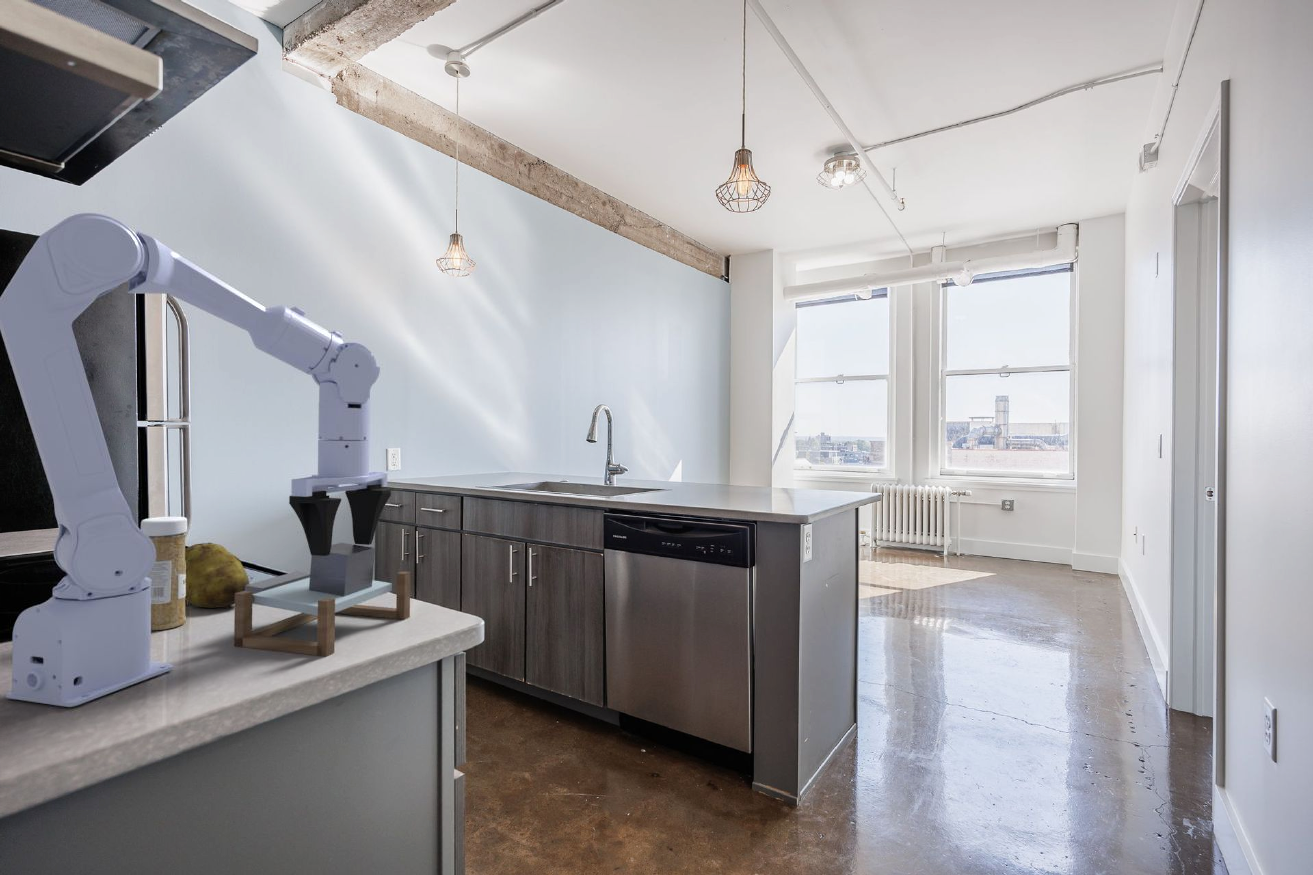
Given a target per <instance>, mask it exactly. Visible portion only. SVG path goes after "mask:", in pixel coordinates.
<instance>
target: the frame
mask: <svg viewBox="0 0 1313 875" xmlns="http://www.w3.org/2000/svg"><path fill="white" fill-rule="evenodd" d="M252 595H253V592H251V591H242V592H238V593H235V604H234V625H233V626H234V628H233V629H234V632H233V634H234V635H233V638H234V639H233V645H234V646H233V647H241V648H248V649H249V648H250V649H258V650H268V651H276V652H286V653H292V654H293V653H294V654H302V655H304V654H305V655H310V656H311V655H313V656H320V657H323V656H324V657H328V656H331V655H332V654H334V653H335V642H336V641H335V635H336V634H335V633H336V630H335V629H336V628H335V626H336V625H335V624H336V614H340V615H341V614H342V615H351V616H361V615H364V616H363V617H371V616H372V618H373V617H374V618H382V617H385V618H384V619H395V620H406V618H407V619H409V618H410V617H411V616H410V615H411V611H410V610H411V571H400V572H396V603H395V604H396V606H395V607H387V606H377V605H374V606H373V605H363V604H362V605H361V604H357V605H354V606H351V607H349V608H346V609H344V610H341V611H338V612H336V613H335V599H331V598H325V599H322V600H319V601H318V616H317V615H312V614H306V613H301V612H299V613H298V614H295V615H293V616H292V615H291V616H289V617H287V618H284V619H282V620H278V621H276V622H273V623H270V624H267V625H264V626H261V627H260V628H257V629H253V604H252ZM408 617H409V618H408ZM315 620H317V630H316V631H317V633H316V634H317V635H316V638H317V641H313V640H312V641H311V640H304V639H294V638H284V637H274V636H275V635H278V634H280V633H283V632H286V631H289V630H291V629H293V628H296V627H298V626H302V625H304V624H306V623H309V622H312V621H315Z"/></svg>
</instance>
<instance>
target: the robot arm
mask: <svg viewBox="0 0 1313 875" xmlns="http://www.w3.org/2000/svg"><path fill="white" fill-rule="evenodd" d="M123 283H128V288H127V293H128V294H149V295H151V294H153V295H154V294H163V295H164V294H165V295H169V296H172V297H174V298H176V299H178V300H180V301H183V302H185V303H186V304H189V305H192V306H193V307H195V308H197V309H200V310H202V311H204V312H207V313H208V314H210V315H212V316H215V317H216V318H219V319H221V320H223V321H225V322H227V323H229V324H231V325H233V326H236V327H237V328H240V329H242V330H244V331H246V332H248V334H249V336H250V338H251V341H252V343H253V345H254V347H255V349H258V350H259V351H261V352H264V353H266V354H267V355H269V356H271V357H274V358H275V359H277V360H279V361H281V362H283V363H285V364H288V366H291V367H293V368H295V369H297V370H298V371H301V372H303V373H305V374H307V375H311V377H312V379H313V381H314V382H315V384H316V385H317V386H318V388H319V390H318V394H319V395H318V427H317V428H318V436H317V438H318V440H317V474H312V475H311V476H308V477H307V476H305V477H301V478H292V479H291V489H290V490H291V492H290V493H291V495H289V497H288V498H289V499H288V500H289V501H288V503H289V505H290V507H291V508H292V510H293V511H294V513H295V514H296V516H297V518H298V520H299V521H300V523H301V526H302V528H303V531H304V532H303V533H304V534H305V538H306V540H307V541H306V542H307V545H308V549H309V552H310V556H312V555H317V556H327V555H329V554H330V550H331V545H333V532H334V531H333V529H334V525H335V524H334V523H335V520H336V515H337V512H338V510H339V507H340V504H341V502H342V498H340V497H330V495H327V494H330V493H331V494H332V493H338V492H345V497H346V499H347V502H348V505H349V508H350V512H351V520H352V536H353V541H354V545H362V546H365V545H367V546H369V545H372V543H373V540H374V538H375V537H374V536H375V532H376V529H377V526H378V524H379V523H378V522H379V519H380V516H381V514H382V512H383V509H384V508H385V506H386V504H387V502H388V501H389V500H390V498H391V497H392V488H386V487H388V472H385V471H370V432H371V430H370V427H371V422H370V419H371V417H370V415H371V414H370V413H371V404H370V403H371V397H370V396H371V388H372V387H373V385H374V384H375V383H376V381H377V380H378V378H379V377H380V376H379V375H380V373H381V372H380V371H381V367H380V366H378V365H377V361H376V358H375V356H374V355H373V354H372V351H371V350H369V348H367V347H366V346H365V345H363V344H360V343H357V342H344V341H343V334H342V333H341V332H338V331H337V330H333V331H329V330H327V329H326V328H325V327H322V326H321V325H320V324H317V323H315V322H313V321H312V320H310V319H308V318H306V317H305V315H306V311H304V310H303V309H301V308H300V307H297V306H293V307H290V308H289V307H288V306H286V305H283V304H281V305H275V306H270V307H266V306H263V305H262V304H260V302H257V301H255V300H253V299H252V298H251V297H249V296H247V295H246V294H244V293H243V292H241V291H239V290H238V289H236V288H234V287H233V286H231V285H229V284H228V283H226V282H224V281H223V280H221V279H220V278H218V277H216V276H215V275H213V274H211V273H209V272H208V271H206V270H204V269H203V268H201V267H200V266H198V265H197V264H194V263H193V262H192V261H190V260H188V259H186V258H185V257H183V256H181V255H180V254H179V253H177V252H176V251H174V250H172V249H171V248H169V247H168V246H166V245H165V244H164V243H163V242H161V241H159V240H157V239H156V238H154V237H153V236H151V235H148V234H146V233H143V232H141V231H136V232H134V231H133V230H132V229H131V228H130V227H129V226H127V225H126V223H124V222H121V221H120V220H118V219H116V218H114V217H112V216H108V215H105V214H102V213H96V212H83V213H77V214H73V215H70V216H69V217H66V218H65V219H63V220H62V221H61V222H58V223H57V224H56V225H54V226H53V227H51V228H49V229H48V230H47V231H45V232H44V233H43V234H41V235H40V236H39V237H38V238H37V239H36V241H35V243H34V244H33V246H32V247H31V249H30V250H29V252H28V253H27V255H26V256H25V257H24V259H23V261H21V263H20V265H19V267H18V269H17V270H16V272H15V273H14V275H13V277H12V278H11V279H10V282H9V283H8V284H7V286H6V288H5V289H4V291H3V292H2V294H1V296H0V334H1V337H2V340H3V342H4V346H5V350H6V353H7V355H8V359H9V362H10V365H11V367H12V371H13V374H14V378H15V381H16V384H17V387H18V390H19V393H20V397H21V400H22V403H23V406H24V409H25V412H26V415H27V416H26V417H27V418H28V423H29V425H30V429H31V432H32V434H33V438H34V441H35V445H36V447H37V450H38V454H39V456H40V457H39V458H40V459H41V464H42V466H43V470H44V473H45V476H46V479H47V483H48V485H49V489H50V493H51V495H52V499H53V504H54V505H53V506H54V515H55V518H56V521H57V526H58V534H57V537H56V541H55V543H54V546H53V557H54V561H55V562H56V564H57V566H58V567H59V568H60V569H61V570H62V571H63V572H65V574H66V575H65V576H64V577H63V578H61V580H60V581H59V582H58V583H57V585H56V586H54V587H53V588H52V596H51V597H50V598H49V599H48V600H46V601H45V602H42V603H40V604H37V605H33V606H31V607H28V608H26V609H24V610H23V611H22V612H21V613H20V614H19V615H18V617H17V619H16V621H15V623H14V626H13V630H12V653H11V654H12V658H11V660H12V664H11V665H12V666H11V667H12V668H11V669H12V670H11V671H12V672H11V673H12V674H11V675H12V676H11V677H12V679H11V680H12V681H11V690H10V691H7V692H6V693H5V698H6V699H11V700H19V701H26V702H31V703H40V704H46V705H50V706H51V705H53V706H58V707H67V708H72V707H76V706H79V705H82V704H85V703H88V702H90V701H93V700H95V699H98V698H100V697H103V696H106V695H108V694H111V693H113V692H116V691H119V690H121V689H124V688H128V687H130V686H132V685H134V684H137V683H140V682H143V681H146V680H148V679H150V678H154V677H156V676H160V675H162V674H164V673H166V672H167V673H168V672H169V671H172V670H173V669H174V664H172V663H164V662H156V661H151V648H152V647H151V644H152V642H151V641H152V640H151V639H152V638H151V637H152V635H151V634H152V633H151V632H152V631H151V579H150V578H147V575H148V574H149V573H150V571H151V570H152V568H153V566H154V563H155V559H156V550H155V546H154V544H153V542H152V540H151V539H150V538H149V536H147V535H146V534H145V533H144V532H143V531H141V528H140V527H138V525H137V524H136V522H135V520H134V517H133V514H132V510H131V508H130V506H129V503H128V501H127V500H126V499H125V496H124V495H123V493H122V491H121V489H120V485H119V482H118V479H117V476H116V475H117V474H116V472H115V469H114V465H113V463H112V459H111V456H110V451H109V449H108V445H107V442H106V439H105V435H104V431H103V428H102V425H101V422H100V418H99V415H98V412H97V407H96V405H95V401H94V398H93V394H92V391H91V388H90V385H89V381H88V378H87V374H86V371H85V370H86V369H85V367H84V364H83V361H82V356H81V354H80V351H79V347H78V342H77V340H76V337H75V334H74V329H73V322H74V321H75V320H76V319H77V318H78V317H79V316H80V315H81V314H82V313H83V312H84V311H86V309H88V307H90V305H91V304H92V303H94V301H95V300H96V299H99V298H100V297H102V296H104V295H106V294H108V293H109V294H110V292H112V291H114V290H115V289H116V288H118V287H120V285H121V284H122V285H123ZM340 485H344V486H340ZM345 485H346V486H345Z"/></svg>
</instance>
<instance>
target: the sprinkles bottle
mask: <svg viewBox="0 0 1313 875" xmlns="http://www.w3.org/2000/svg"><path fill="white" fill-rule="evenodd" d="M140 530H141V531H143V532H144V533H145V534H146V535H147V536H149V538H150V539H151V540H152V542H153V544H154V546H155V550H156V559H155V563H154V566H153V568H152V570H151V571H150V573H149V574H148V575H147V578H150V579H151V632H153V631H163V630H170V629H174V628H178V627H179V626H182V625H184V624H185V623H186V622H187V617H186V598H185V596H186V562H185V549H186V536H187V533H188V518H187V517H184V516H175V515H174V516H171V515H170V516H157V517H156V516H155V517H149V518H145V519H142V520H141V522H140Z"/></svg>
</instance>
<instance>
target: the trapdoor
mask: <svg viewBox="0 0 1313 875" xmlns="http://www.w3.org/2000/svg"><path fill="white" fill-rule="evenodd" d="M309 582H310V573H309V572H305V571H299V570H298V571H293V572H290V573H286V574H282V575H278V576H274V577H271V578H268V579H264V580H260V581H256V582H253V583H249V585H245V591H251V592H253V595H252V605H259V606H264V607H269V608H275V609H280V610H284V611H285V610H286V611H290V612H291V611H292V612H296V613H306V614H312V615H317V616H318V601H319V600H322V599H325V598H331V599H335V614H337V613H336V612H338V611H341V610H344V609H346V608H349V607H351V606H354V605H360V604H361V603H365V602H366V601H369V600H372V599H375V598H377V597H379V596H382V595H384V594H387V593H391V592H392V590H393V589H392V588H393V583H392V582H386V581H380V580H374V579H372V587H370V588H367V589H364V590H361V591H358V592H356V593H353V594H350V595H347V596H338V595H333V594H327V593H321V592H316V591H310V590H309Z"/></svg>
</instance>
